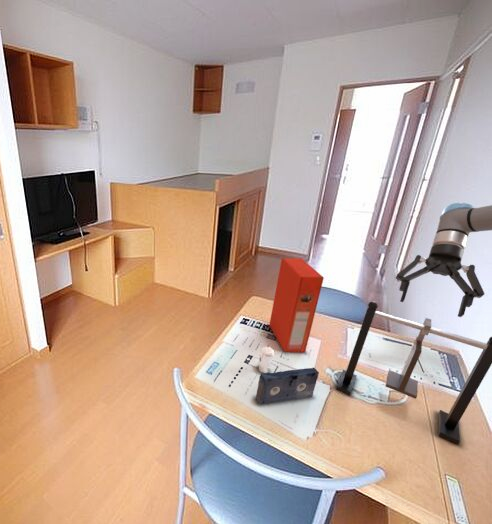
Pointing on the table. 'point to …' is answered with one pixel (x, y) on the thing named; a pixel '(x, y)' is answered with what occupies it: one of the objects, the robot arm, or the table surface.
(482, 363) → the coat rack
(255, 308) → the table surface
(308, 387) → the vhs cassette tape
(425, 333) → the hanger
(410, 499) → the table surface
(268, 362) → the milkshake
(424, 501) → the table surface
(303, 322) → the file binder
